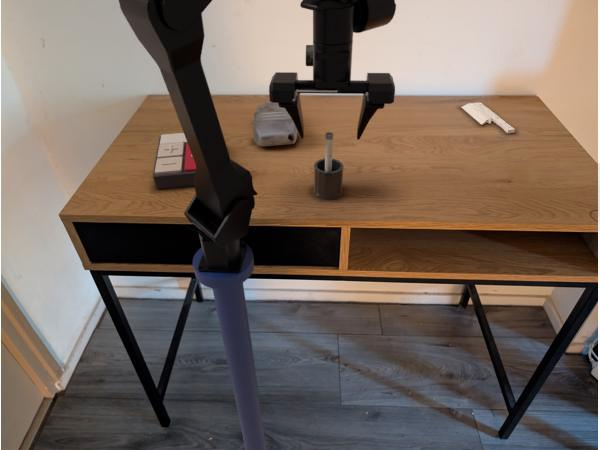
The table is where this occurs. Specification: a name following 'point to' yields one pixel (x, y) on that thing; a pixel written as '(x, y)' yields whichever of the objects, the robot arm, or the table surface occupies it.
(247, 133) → the table surface
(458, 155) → the table surface
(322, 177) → the pen cup
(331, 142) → the stylus
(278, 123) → the handheld device
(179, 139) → the calculator
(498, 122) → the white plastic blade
